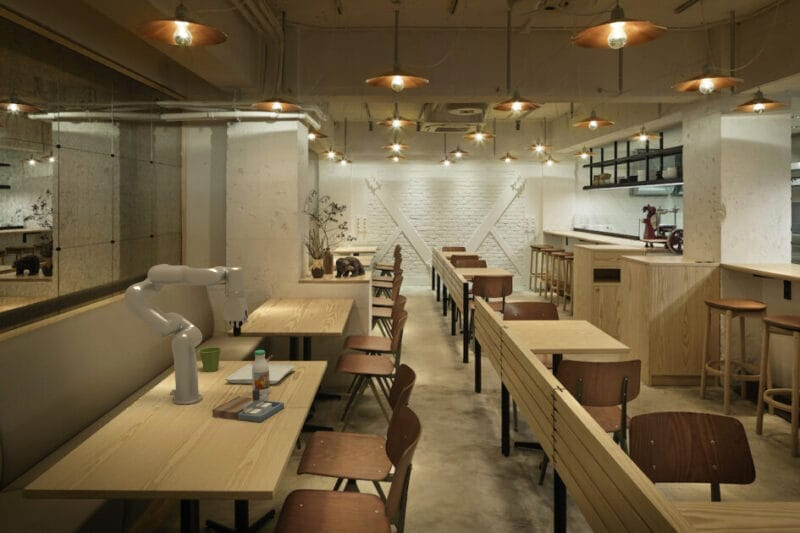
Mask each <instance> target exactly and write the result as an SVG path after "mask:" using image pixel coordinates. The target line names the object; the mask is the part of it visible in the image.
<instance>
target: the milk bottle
mask: <svg viewBox="0 0 800 533" xmlns="http://www.w3.org/2000/svg"><path fill="white" fill-rule="evenodd" d="M254 356H255V357H254V362H253V363H252V364H253V367H252V384H251V385H252V390H254V389H259V394H260V396H262V395H264V394H268V395H269V394H270V393H271V392H270V391H271V389H270V388H271V386H270V385H271V384H270V380H269V367H268V364H269V363H268V362H266V360H265V359H266V357H265V356H266V351H265V350H264V349H257V350H255V351H254Z"/></svg>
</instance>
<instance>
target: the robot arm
mask: <svg viewBox="0 0 800 533" xmlns="http://www.w3.org/2000/svg"><path fill="white" fill-rule="evenodd" d="M244 276H245V275H244V269H243V267H241V266H222V265H221V266H220V265H218V266H214V267H210V268H194V267H191V266H190V267H189V266H188V265H183V264H182V265H180V264H179V265H170V264H167V263H161V264H157V265H154V266H151V267H150V269H148V272H147V278H145V280H142V281H141V282H137V283H134V284H132V285H130V286H129V287H128V288H127V289H126V290H125V292H124V305H125V307H126V309H127V310H128V311H129V313H130V314H131V315H133V317H135V318H137V319H138V320H139V321H141V322H142V323H143V324H145V326H147V328H150V329H151V330H152V331H153V332H154V333H156V334H157V335H158V336H160V337H163V338H169V337H170V336H173V338H172V339H171V350H172V356H173V363H174V380H175V382H174V384H175V389H174V388H173V389H171V391H170V392H169V395H170V396H174V398H172V403H173V404H175V405H179V406H180V405H181V406H183V405H192V404H196V403H199V402H201V401H202V400H203V395H202V394H199V392H200V391H199V377H198V376H199V374H198V360H197V354H196V353H197V352H196V347H198V346H199V345H200V344H201V343H202V341H203V334H202V332H201V330H200V329H199V328H198V327H197V326H195V325H194V324H193V323H192V322H190V321H189V320H188V319H186V318H185V317H184V316H182V315H181V314H179V313H177V312H167V313H165V312H163V311H162V310H160V309H159V308H158V307H157V306H155V305H154V304H152V303H150V302H148V300H151V299H153V298H154V297H156V296H157V295H159V293H160V292H161V291H162V290H163V289H165V287H167V286H168V285H169V286H170V285H173V286H174V285H176V286H178V285H180V286H195V287H197V286H198V287H204V286H205V287H206V286H207V287H212V286H217V285H220V284H224V283H225V284H226V285H225V289H226V291H225V292H224V296H226V297H225V298H224V302H223V319H224V320H225V322H226V323H228V324H230V326H231V327H232V333H233V337H236V338H237V337H240V336H241V335H242V327H243V325H245V324H247V323H248V322H249V321H248V319H249V308H248V302H247V298H246V297H245V283H244V282H245V280H244V278H245V277H244Z"/></svg>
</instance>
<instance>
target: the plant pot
mask: <svg viewBox="0 0 800 533" xmlns="http://www.w3.org/2000/svg"><path fill="white" fill-rule="evenodd" d="M197 351H198V354H199V356H200V360H201V363H202V367H203V371H204V372H207V373H212V372H215V371H218V370H219V364H220V357H221V356H220V355H221V351H222V347H218V346H210V347H204V348H200V349H198V350H197Z"/></svg>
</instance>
